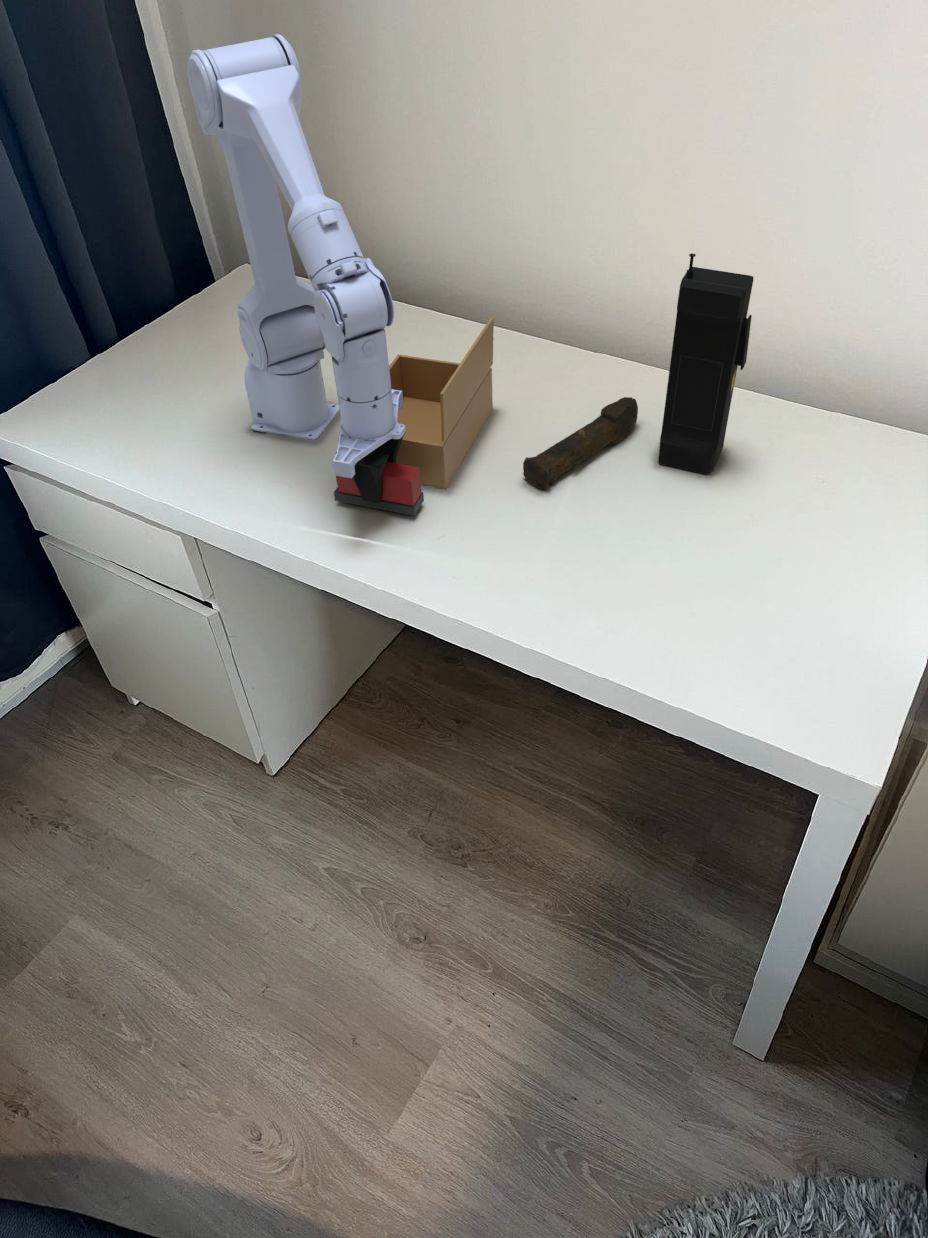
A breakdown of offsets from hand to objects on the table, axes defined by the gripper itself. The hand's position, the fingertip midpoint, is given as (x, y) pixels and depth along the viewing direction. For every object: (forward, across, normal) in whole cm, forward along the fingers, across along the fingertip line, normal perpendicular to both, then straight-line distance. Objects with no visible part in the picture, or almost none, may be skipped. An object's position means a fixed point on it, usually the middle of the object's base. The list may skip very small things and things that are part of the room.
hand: (377, 492), depth 108 cm
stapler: (+1, 0, 0) cm, 1 cm away
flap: (-8, +14, -6) cm, 17 cm away
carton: (+2, +14, 0) cm, 14 cm away
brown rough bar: (+2, +17, -20) cm, 26 cm away
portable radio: (+2, +20, -33) cm, 39 cm away
